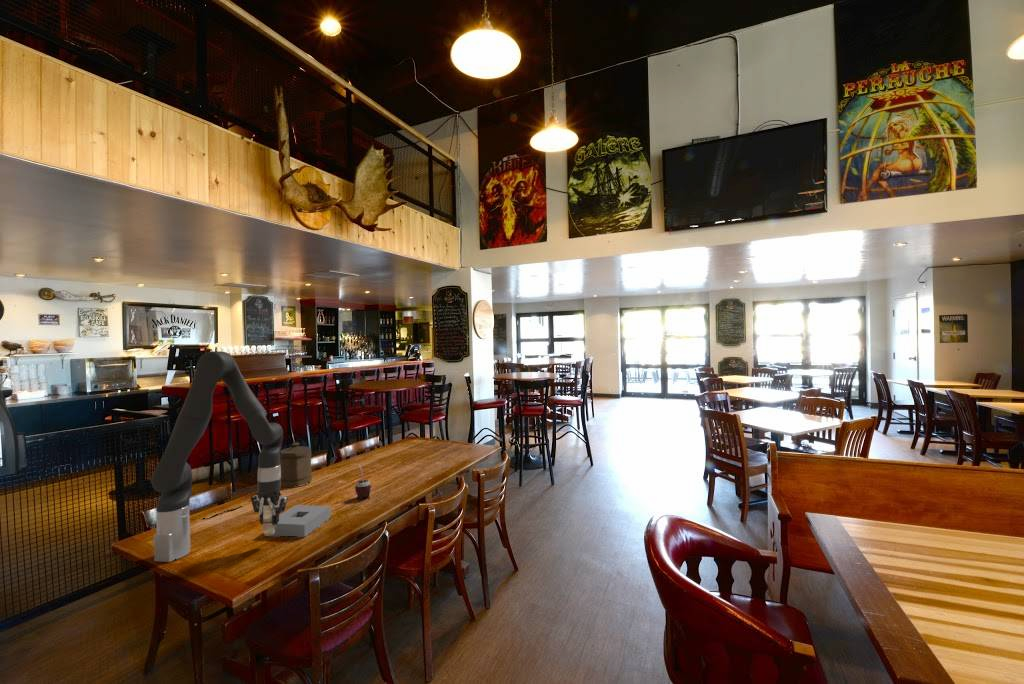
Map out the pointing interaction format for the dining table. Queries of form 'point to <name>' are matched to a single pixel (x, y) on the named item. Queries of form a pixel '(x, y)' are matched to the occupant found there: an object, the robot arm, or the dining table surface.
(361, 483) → the mate gourd
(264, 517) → the peg
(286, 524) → the socket block
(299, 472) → the wooden container
